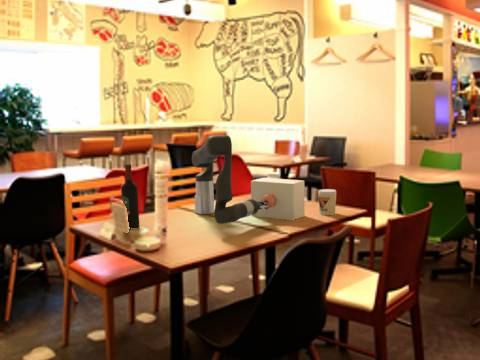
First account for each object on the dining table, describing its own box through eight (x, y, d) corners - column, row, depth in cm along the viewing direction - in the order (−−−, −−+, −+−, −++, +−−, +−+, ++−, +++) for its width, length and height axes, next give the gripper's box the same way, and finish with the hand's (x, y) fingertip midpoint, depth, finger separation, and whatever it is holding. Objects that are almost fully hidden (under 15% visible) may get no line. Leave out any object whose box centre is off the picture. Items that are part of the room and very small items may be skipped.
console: (293, 220, 270) (292, 183, 267) (251, 215, 283) (250, 180, 280) (304, 215, 280) (304, 180, 277) (263, 211, 293) (263, 177, 290)
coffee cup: (314, 213, 285) (314, 190, 283) (327, 211, 290) (327, 188, 288) (327, 216, 277) (327, 192, 276) (340, 213, 283) (340, 190, 281)
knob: (271, 209, 269) (271, 196, 268) (260, 207, 273) (260, 195, 272) (281, 205, 277) (281, 193, 276) (270, 204, 281) (270, 192, 280)
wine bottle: (138, 229, 260) (135, 165, 255) (122, 229, 259) (118, 165, 255) (140, 225, 267) (137, 163, 263) (124, 226, 266) (120, 164, 262)
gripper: (258, 201, 252) (277, 195, 266) (234, 199, 260) (254, 193, 274) (258, 217, 253) (277, 211, 268) (235, 215, 261) (254, 208, 275)
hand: (265, 202), depth 271 cm, fingers closed
